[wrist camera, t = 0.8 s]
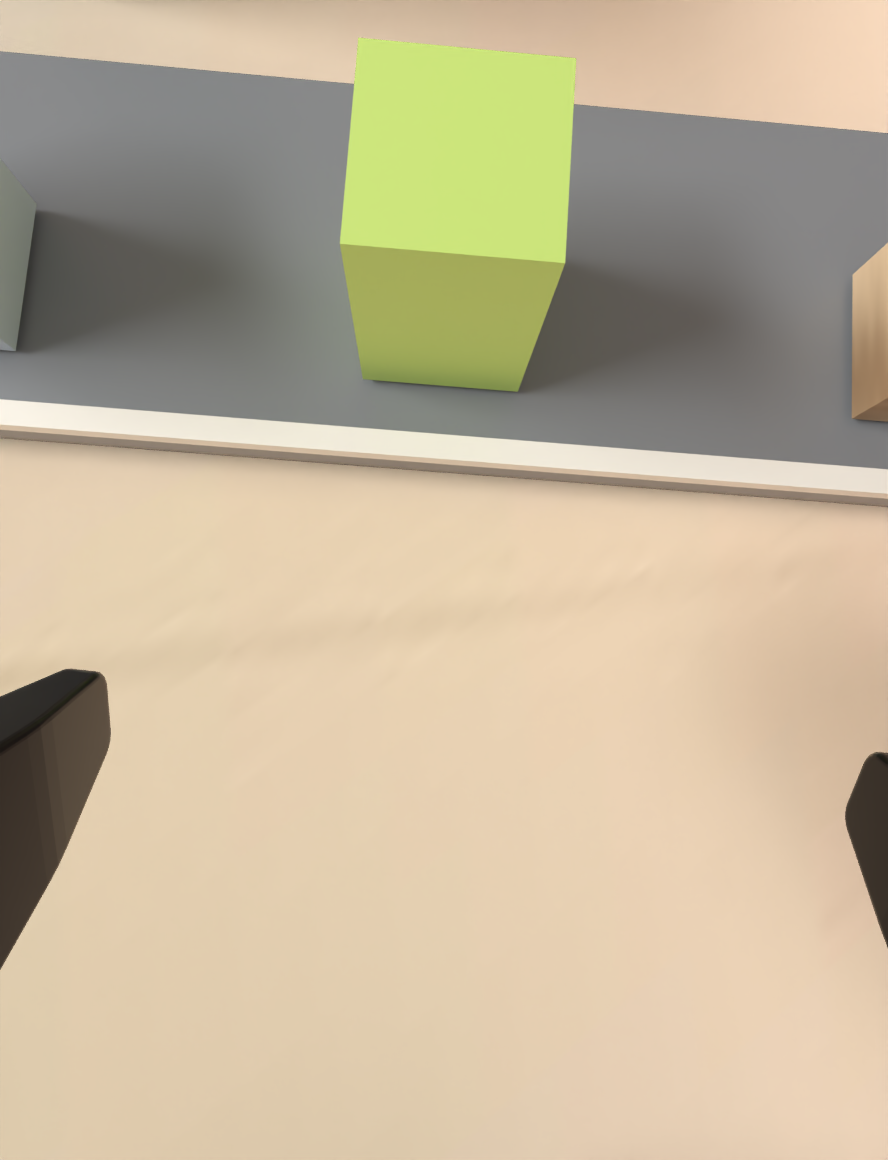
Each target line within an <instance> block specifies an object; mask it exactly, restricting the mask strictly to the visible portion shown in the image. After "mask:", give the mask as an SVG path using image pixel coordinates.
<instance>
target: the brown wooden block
mask: <svg viewBox="0 0 888 1160" xmlns="http://www.w3.org/2000/svg"><path fill="white" fill-rule="evenodd" d="M852 419H861V420H873V421H885V422H888V243H887V244H886V245H885V246H884V247H882V248H881V249H880V250H879V251H878V252H877V253H876V254H875V255H874V256H873V257H871V258H870V259H869V260H868V261H867V262H866V263H865V264H864V265H863V266H862V267H861V268H859V269H858V270H857V271H856V272H855V273H854V274H853V295H852Z"/></svg>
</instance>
